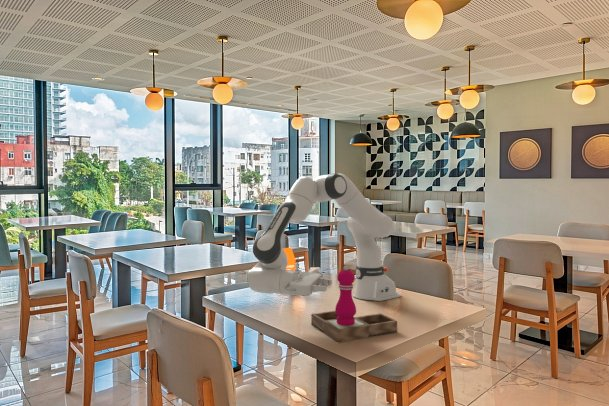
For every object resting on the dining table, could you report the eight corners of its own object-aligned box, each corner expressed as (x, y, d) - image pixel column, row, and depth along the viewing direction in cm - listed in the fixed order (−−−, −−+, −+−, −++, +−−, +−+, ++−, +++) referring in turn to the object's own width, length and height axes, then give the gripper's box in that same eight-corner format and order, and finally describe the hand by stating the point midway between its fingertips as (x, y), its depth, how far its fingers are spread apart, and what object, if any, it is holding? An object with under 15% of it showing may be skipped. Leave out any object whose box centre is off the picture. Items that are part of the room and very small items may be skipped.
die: (317, 286, 226) (327, 270, 229) (303, 277, 227) (313, 261, 230) (317, 288, 234) (326, 272, 236) (303, 279, 235) (312, 264, 238)
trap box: (365, 316, 175) (365, 305, 174) (396, 332, 157) (397, 320, 156) (311, 324, 164) (311, 313, 164) (338, 342, 146) (338, 329, 146)
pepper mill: (333, 319, 156) (334, 263, 155) (353, 319, 157) (354, 263, 156) (336, 326, 149) (337, 267, 148) (358, 325, 150) (358, 267, 149)
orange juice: (272, 287, 219) (272, 248, 218) (286, 285, 225) (286, 246, 224) (280, 291, 213) (281, 250, 212) (295, 288, 219) (296, 248, 218)
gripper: (282, 280, 147) (323, 282, 144) (298, 268, 167) (334, 270, 163) (282, 298, 147) (322, 302, 144) (298, 285, 167) (334, 287, 164)
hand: (329, 285), depth 154 cm, fingers open, 8 cm apart
